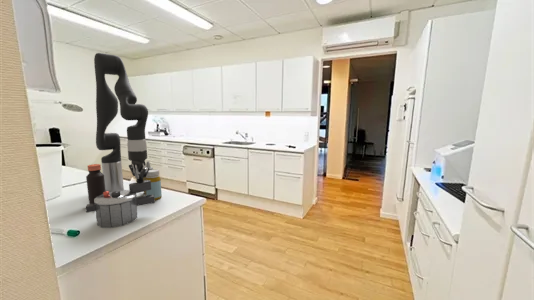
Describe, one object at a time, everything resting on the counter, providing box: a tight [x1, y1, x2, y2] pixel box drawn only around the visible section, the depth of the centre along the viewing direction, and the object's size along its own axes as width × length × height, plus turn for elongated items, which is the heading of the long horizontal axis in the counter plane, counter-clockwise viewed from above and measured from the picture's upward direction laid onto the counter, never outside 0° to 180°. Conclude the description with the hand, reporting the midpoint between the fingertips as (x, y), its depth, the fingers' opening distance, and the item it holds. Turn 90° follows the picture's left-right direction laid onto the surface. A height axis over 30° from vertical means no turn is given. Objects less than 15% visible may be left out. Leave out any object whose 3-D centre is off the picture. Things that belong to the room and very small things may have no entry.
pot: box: [85, 194, 156, 229], centre depth 97 cm, size 24×14×9 cm, turn 119°
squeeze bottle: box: [143, 161, 154, 195], centre depth 128 cm, size 8×8×18 cm
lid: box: [94, 180, 151, 206], centre depth 97 cm, size 21×15×5 cm
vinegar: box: [85, 163, 106, 204], centre depth 110 cm, size 7×7×20 cm
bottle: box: [146, 168, 162, 201], centre depth 120 cm, size 7×7×15 cm
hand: (140, 185), depth 106 cm, fingers closed
